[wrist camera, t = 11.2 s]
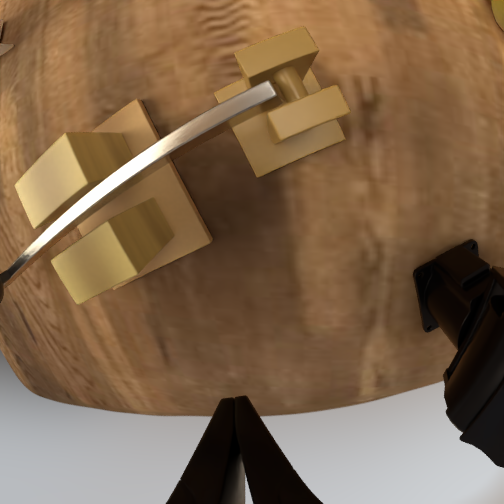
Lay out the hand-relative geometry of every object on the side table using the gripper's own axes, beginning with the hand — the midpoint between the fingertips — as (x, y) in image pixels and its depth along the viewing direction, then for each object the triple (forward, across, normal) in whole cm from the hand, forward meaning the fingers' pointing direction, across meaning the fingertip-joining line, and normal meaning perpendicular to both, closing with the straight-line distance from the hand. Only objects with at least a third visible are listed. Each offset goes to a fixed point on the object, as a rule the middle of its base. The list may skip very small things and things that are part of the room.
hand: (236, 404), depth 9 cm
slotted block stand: (+14, +7, -5) cm, 16 cm away
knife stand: (+12, -5, -9) cm, 16 cm away
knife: (+8, +8, -5) cm, 12 cm away
